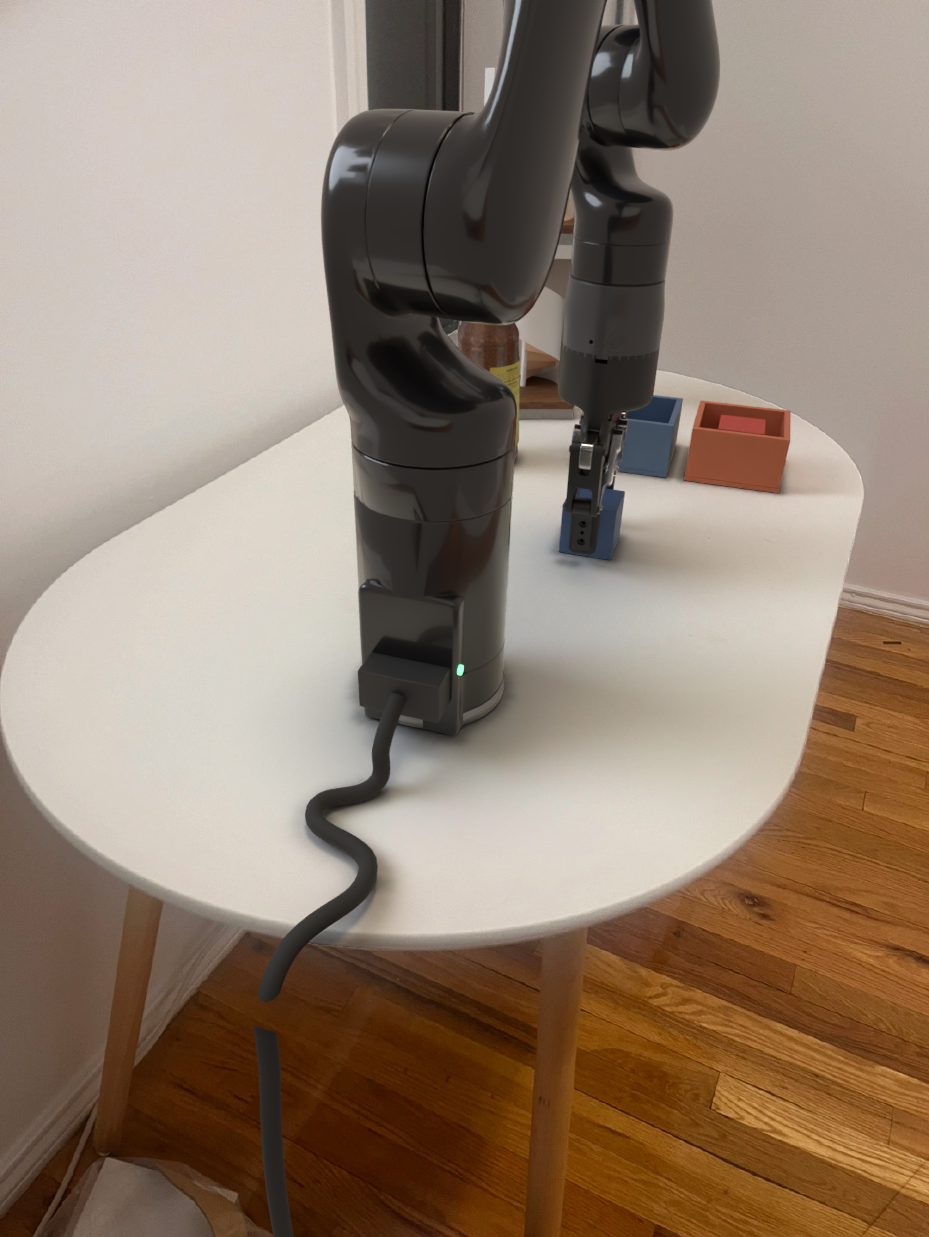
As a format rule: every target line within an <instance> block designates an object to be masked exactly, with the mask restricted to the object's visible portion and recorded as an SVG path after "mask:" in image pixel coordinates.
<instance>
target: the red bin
mask: <svg viewBox="0 0 929 1237" xmlns="http://www.w3.org/2000/svg"><path fill="white" fill-rule="evenodd" d="M721 415H730V416H738V417H747V418H755V419H764V420H766V425H765V435H759V434H751V433H742V432H734V431H726V430H718V427H719V422H720V417H721ZM790 444H791V410H787V409H780V408H779V409H778V408H772V407H771V408H770V407H762V406H755V405H754V406H753V405H744V404H737V403H727V402H718V401H717V402H716V401H710V400H700V401H699V404H698V408H697V411H696V414H695V418H694V422H693V424H692V429H691V435H690V441H689V447H688V453H687V458H686V465H685V472H684V477H683V479H684V481H686V482H695V483H702V484H710V485H717V486H724V487H731V488H738V489H747V490H753V491H761V492H765V493H767V492H768V493H773V494H774V493H775V494H779V493H780V488H781V484H782V478H783V475H784V471H785V466H786V462H787V457H788V452H789V449H790Z"/></svg>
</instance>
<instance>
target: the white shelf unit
mask: <svg viewBox="0 0 929 1237" xmlns="http://www.w3.org/2000/svg"><path fill="white" fill-rule="evenodd" d="M496 70H497V67H484V96H483V97H484V98H483V107H484V106H485V104H486V102H487V100H488V98H489V95H490V92H491V89H492V86H493V82H494V78H495V74H496ZM573 229H574V208H573V202H572V197H571V192H570V194H569V199H568V204H567V208H566V213H565V218H564V223H563V228H562V232H561V236H560V240H559V244H558V248H557V252H556V255H555V258H554V262H553V265H552V268H551V271H550V274H549V277H548V279H547V282H546V284H545V287H544V289H543V290H542V292H541V294H540V296H539V298H538V299H537V301H536V303H535V305H534V306H533V308H532V309H531V310H530V312H529V313H528V314H526V315H525V316H524V317H523V318H522V319H520V320H519V321H517V322H516V323H515V324H516V326H517V328H518V330H519V343H518V344H519V358H520V386H519V420H573V417H574V416H573V415H574V405H573V406H572V405H570V404H568V403H566V402H565V401H563V400H562V399H561V397H560V396H559V394H558V378H559V365H560V352H561V338H562V326H563V313H564V304H565V298H566V294H567V289H568V284H569V277H570V266H571V253H572V240H573Z"/></svg>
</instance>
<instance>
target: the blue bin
mask: <svg viewBox="0 0 929 1237" xmlns="http://www.w3.org/2000/svg"><path fill="white" fill-rule="evenodd" d="M683 402H684V398H683V397H674V396H665V395H659V394H658V395H657V394H653V398H652V400H651V402H650V403H649V404H648V405H646V406H645V407H643V408H640V409H637V410H634V411H628V413H627V419H628V420H629V428H628V433H627V437H626V440H625V450H624V454H623V459H622V461H620V462H619V466H620V469H619V473H620V472H621V473H627V474H636V475H643V476H651V477H656V478H657V477H658V478H665V479H666V478H667V475H668V473H669V470H670V467H671V463H672V459H673V456H674V454H675V449H676V447H677V440H678V436H679V435H678V434H679V427H680V422H681V414H682V409H683V404H684V403H683Z"/></svg>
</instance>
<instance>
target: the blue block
mask: <svg viewBox="0 0 929 1237" xmlns="http://www.w3.org/2000/svg"><path fill="white" fill-rule="evenodd" d="M625 496H626V491H625V490H620V489H614V490H613V489H605V492H604V497H603V503H602V505H603V510H602V511H601V513H600V520H599V529H598V538H597V547H596V550H595V552H594V553H593V554H592V555H587V554H581V553H574V552H572V551H570V549H569V538H570V527H571V516H572V514H570V513H566V511H565V510H566V508H565V502H566V499H565V500H564V502H563V503H562V510H561V522H560V533H559V544H558V552H559V553H563V554H564V553H565V554H570V555H575V556H581V557H582V556H583V557H588V558H594V559H600V560H606V561H611V560H612V558H613V555H614V553H615V550H616V548H617V545H618V542H619V539H620V535H621V526H622V520H623V519H622V518H623V510H624V502H625ZM579 497H583V498H590V499H592V491H591V490H589V489H582V488H580V494H579Z"/></svg>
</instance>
